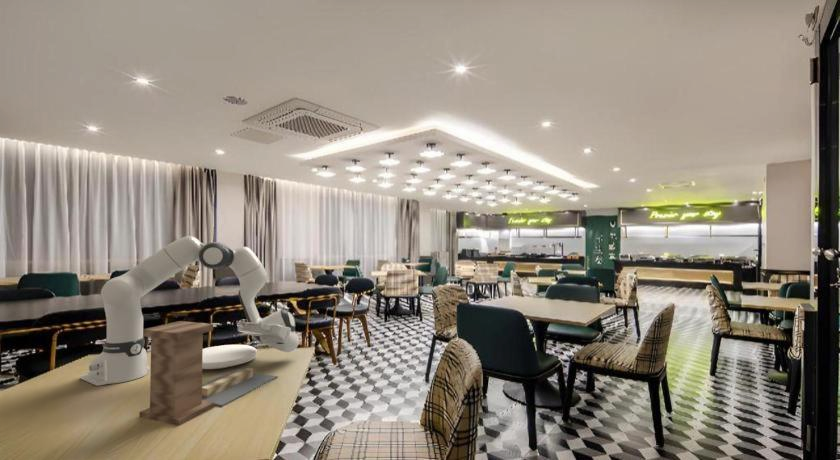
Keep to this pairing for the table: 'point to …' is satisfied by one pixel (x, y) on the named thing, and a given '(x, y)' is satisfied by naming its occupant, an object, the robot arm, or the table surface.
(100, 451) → the table surface
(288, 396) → the table surface
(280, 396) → the table surface
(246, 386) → the mat
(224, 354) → the plate
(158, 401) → the stand
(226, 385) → the rod
